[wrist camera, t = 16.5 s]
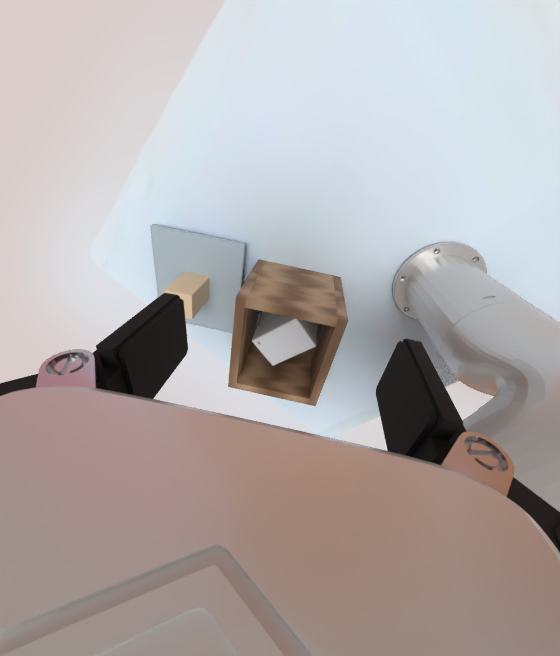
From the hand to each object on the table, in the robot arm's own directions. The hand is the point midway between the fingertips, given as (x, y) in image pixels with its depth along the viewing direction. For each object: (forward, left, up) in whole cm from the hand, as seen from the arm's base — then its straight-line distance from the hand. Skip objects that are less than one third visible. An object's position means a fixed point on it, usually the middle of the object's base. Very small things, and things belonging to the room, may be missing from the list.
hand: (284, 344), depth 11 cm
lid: (+16, +13, -31) cm, 37 cm away
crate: (0, +15, -31) cm, 34 cm away
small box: (0, +15, -31) cm, 35 cm away
